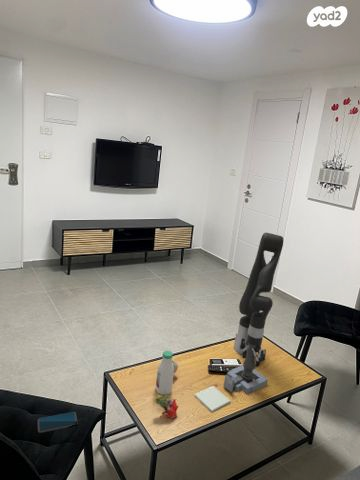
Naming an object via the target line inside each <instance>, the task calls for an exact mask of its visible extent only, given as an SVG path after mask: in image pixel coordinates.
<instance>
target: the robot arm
mask: <svg viewBox="0 0 360 480" xmlns="http://www.w3.org/2000/svg"><path fill="white" fill-rule="evenodd" d="M260 238H261V239H260V241H259V244H258V249H257V253H256V256H255V260H254V263H253V266H252V269H251V271H250V273H249V277H248V278H249V279H248V281H247V284H246V286H245V290H244V292H243V294H242V296H241V299H240V301H239V304H238V305H239V307H238V310H239V312H240V314H242V315H243V316H241V317H240V319H239V322H238V323H239V324H238V329H237V333H235V337H234V344H233V349H234V351H235V352H236V353H237V354H239V355H241V357H242V359H243V360H245V358H246V356H247V353H248V350H247V347H248V348H249V345H248V343H249V344H251V345H254V346H256V347H255V348H252V351H253V354H254V356H255V368H258V367H260V366H261V363H262V362H265V360H266V354H267V350H266V349H263V348H262V343H263V339H264V334H265V325H266V320H267V318H268V315H269V313H270V312H271V309H272V307H273V303H274V302H273V300H272V298H271V297H269V296H264V295H260V294H262V293H263V294H264V293H271V291H272V286H273V283H274V277H275V273H276V270H277V266H278V263H279V261H280V257H281V254H282V250H283V247H284V236H282V235H280V234H274V233H270V232H263V234H262V236H261V237H260ZM265 252H269V253H273V256H272V258H271V259H270V261H269V262H268V263H267V262H266V259H265Z"/></svg>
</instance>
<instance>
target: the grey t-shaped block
mask: <svg viewBox="0 0 360 480" xmlns="http://www.w3.org/2000/svg"><path fill="white" fill-rule="evenodd" d="M242 380H243V378H242V377H241V375H240V376H237V377H234V378H232V379H231V378H230V377H229V376H227V374H226V375H224V379H223V381H224V382H223V387H224V388H225V389H227V390H226V391H228V392H229V393H232V392H233V391H234V390H233V389H234V387H235V385H237V384H239V383H240V382H242Z"/></svg>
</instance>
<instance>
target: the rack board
mask: <svg viewBox="0 0 360 480" xmlns="http://www.w3.org/2000/svg"><path fill="white" fill-rule="evenodd" d="M194 397H195V398H196V400H198V401H199V402H200V403H201V404H202V405H203V406H204V407H205V408H206V409H207V410H208V411H210V412H211V413H213V412H214V411H216V410H218V409H220V408H222V407H224V406H226V405H228V404H230V403H231V400H230V398H228V397H227V396H226V395H224V394H223V392H221V391H220V390H219V389H218V388H217V387H215V386H214V385H212V386H210V387H208V388H204V389H203V390H201V391H198V392H197V393H194Z"/></svg>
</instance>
